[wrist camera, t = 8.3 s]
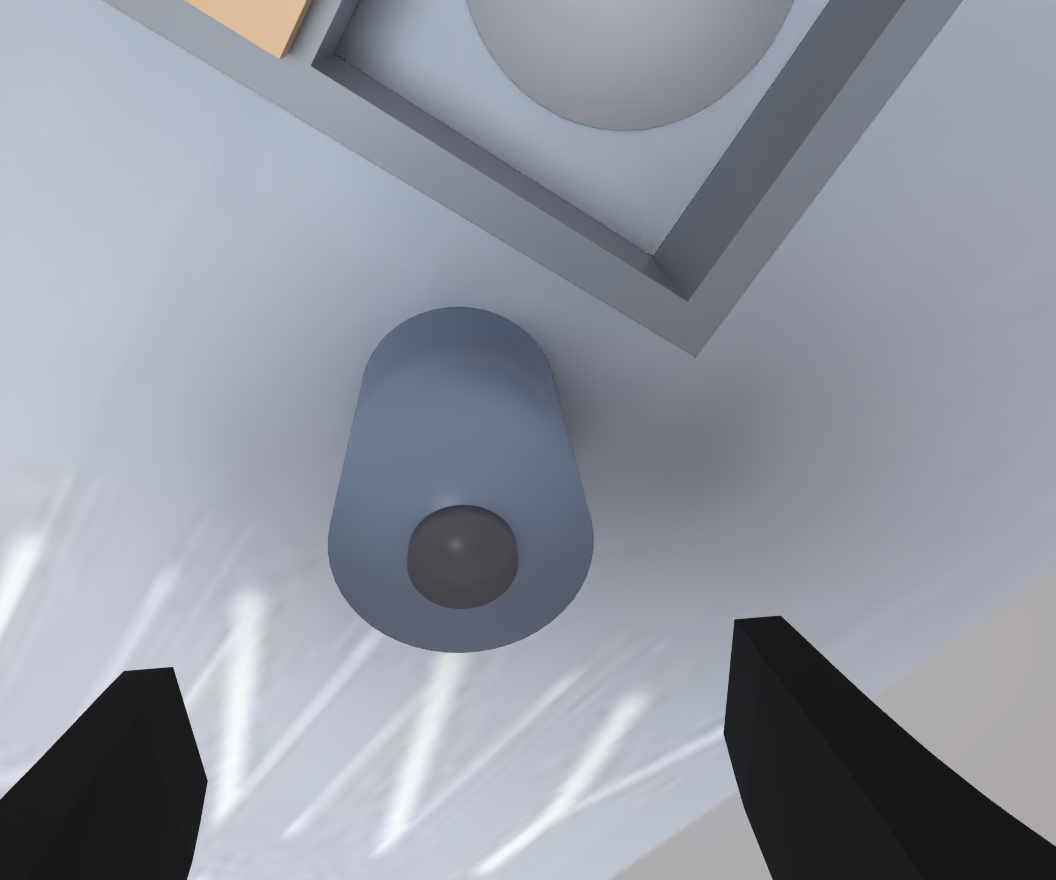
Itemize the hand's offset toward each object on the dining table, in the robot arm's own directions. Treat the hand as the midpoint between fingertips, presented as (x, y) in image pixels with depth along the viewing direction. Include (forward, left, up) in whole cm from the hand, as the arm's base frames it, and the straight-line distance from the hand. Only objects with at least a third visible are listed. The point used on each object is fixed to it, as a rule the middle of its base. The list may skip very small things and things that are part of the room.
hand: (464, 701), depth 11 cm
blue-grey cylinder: (0, 0, -10) cm, 10 cm away
